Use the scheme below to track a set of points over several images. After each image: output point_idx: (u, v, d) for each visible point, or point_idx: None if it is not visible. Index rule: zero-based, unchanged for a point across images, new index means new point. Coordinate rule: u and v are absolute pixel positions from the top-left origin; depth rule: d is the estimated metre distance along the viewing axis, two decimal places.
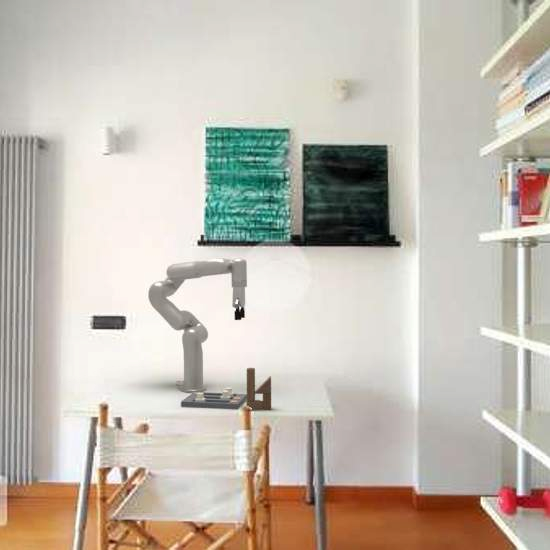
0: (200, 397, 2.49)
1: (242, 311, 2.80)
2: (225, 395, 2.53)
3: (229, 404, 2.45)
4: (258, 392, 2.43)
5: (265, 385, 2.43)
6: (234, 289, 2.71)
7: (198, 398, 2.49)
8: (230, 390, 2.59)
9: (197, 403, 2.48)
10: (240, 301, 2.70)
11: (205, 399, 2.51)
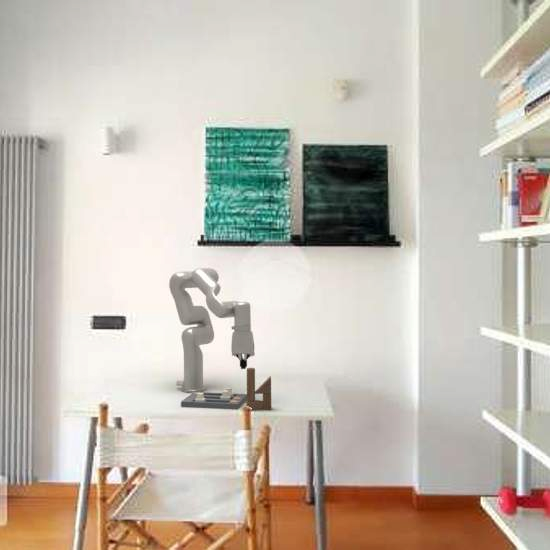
0: (200, 397, 2.49)
1: None
2: (225, 395, 2.53)
3: (229, 404, 2.45)
4: (258, 392, 2.43)
5: (265, 385, 2.43)
6: (251, 334, 2.56)
7: (198, 398, 2.49)
8: (230, 390, 2.59)
9: (197, 403, 2.48)
10: None
11: (205, 399, 2.51)
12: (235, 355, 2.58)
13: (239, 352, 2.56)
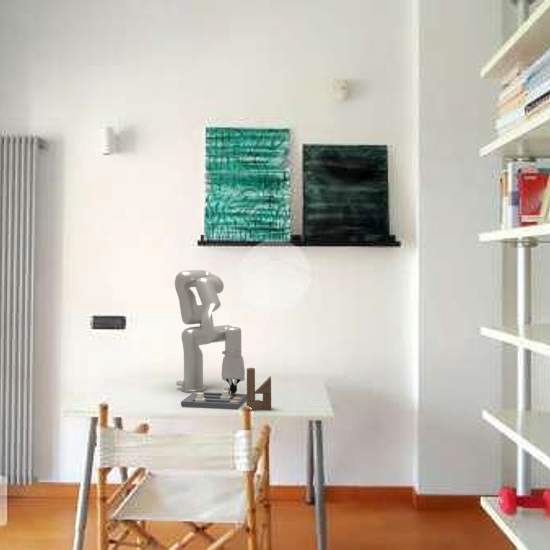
0: (200, 397, 2.49)
1: None
2: (225, 395, 2.53)
3: (229, 404, 2.45)
4: (258, 392, 2.43)
5: (265, 385, 2.43)
6: (241, 359, 2.57)
7: (198, 398, 2.49)
8: (228, 390, 2.59)
9: (197, 403, 2.48)
10: None
11: (205, 399, 2.51)
12: (225, 380, 2.60)
13: (229, 377, 2.57)
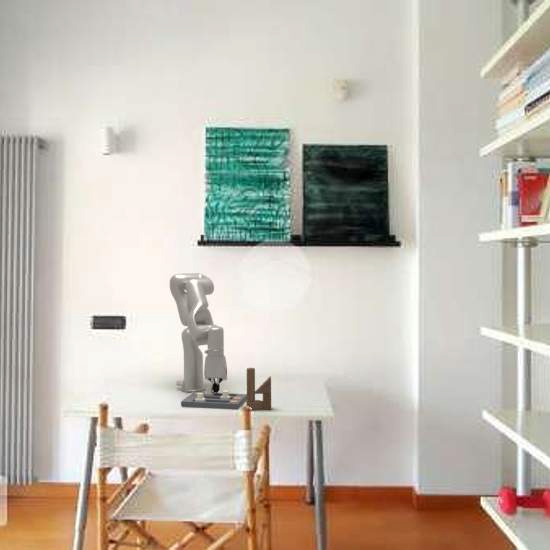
0: (200, 397, 2.49)
1: None
2: (225, 395, 2.53)
3: (229, 404, 2.45)
4: (258, 392, 2.43)
5: (265, 385, 2.43)
6: (224, 359, 2.59)
7: (198, 398, 2.49)
8: (210, 389, 2.61)
9: (197, 403, 2.48)
10: None
11: (205, 399, 2.51)
12: (208, 379, 2.61)
13: (211, 376, 2.59)
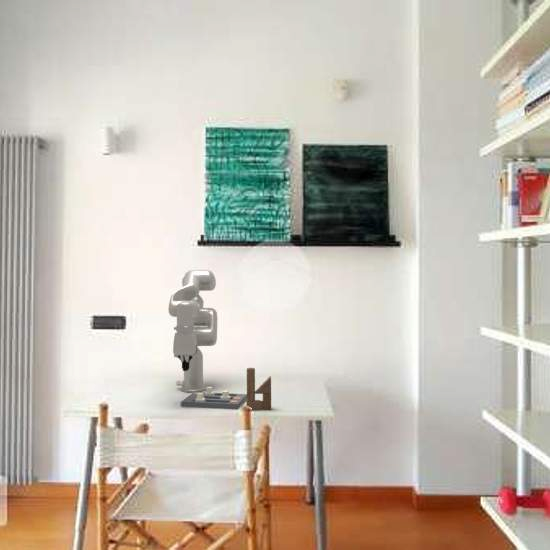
0: (200, 397, 2.49)
1: None
2: (225, 395, 2.53)
3: (229, 404, 2.45)
4: (258, 392, 2.43)
5: (265, 385, 2.43)
6: (193, 335, 2.48)
7: (198, 398, 2.49)
8: (210, 389, 2.61)
9: (197, 403, 2.48)
10: None
11: (205, 399, 2.51)
12: (177, 356, 2.51)
13: (181, 353, 2.48)
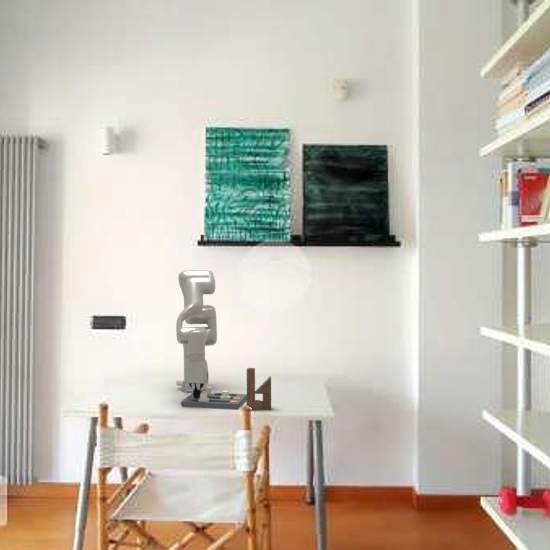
0: (203, 397, 2.49)
1: None
2: (225, 395, 2.53)
3: (229, 404, 2.45)
4: (258, 392, 2.43)
5: (265, 385, 2.43)
6: (205, 363, 2.48)
7: (201, 398, 2.49)
8: (210, 389, 2.61)
9: (197, 403, 2.48)
10: None
11: (208, 399, 2.51)
12: (188, 384, 2.51)
13: (192, 381, 2.48)
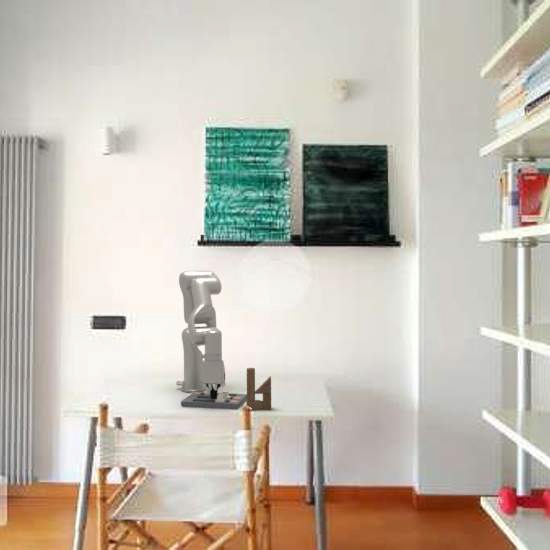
0: (220, 398, 2.47)
1: None
2: (225, 395, 2.53)
3: (229, 404, 2.45)
4: (258, 392, 2.43)
5: (265, 385, 2.43)
6: (222, 363, 2.46)
7: (218, 399, 2.48)
8: None
9: (197, 403, 2.48)
10: None
11: (225, 400, 2.50)
12: (205, 385, 2.49)
13: (209, 382, 2.46)
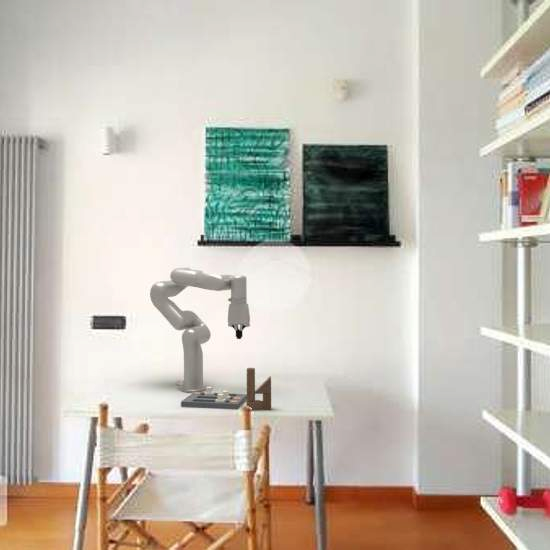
0: (220, 398, 2.47)
1: None
2: (225, 395, 2.53)
3: (229, 404, 2.45)
4: (258, 392, 2.43)
5: (265, 385, 2.43)
6: (247, 306, 2.68)
7: (218, 399, 2.48)
8: (210, 389, 2.61)
9: (197, 403, 2.48)
10: None
11: (225, 400, 2.50)
12: (231, 326, 2.71)
13: (235, 323, 2.68)
